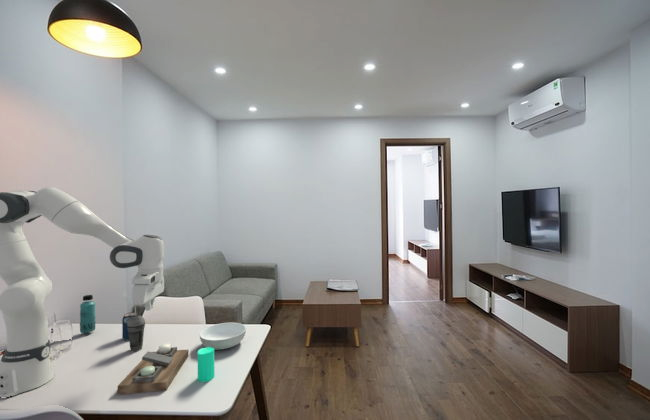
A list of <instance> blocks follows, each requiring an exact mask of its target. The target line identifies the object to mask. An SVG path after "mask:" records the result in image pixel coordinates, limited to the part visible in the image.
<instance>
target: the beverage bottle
mask: <svg viewBox="0 0 650 420" xmlns="http://www.w3.org/2000/svg"><path fill="white" fill-rule="evenodd" d="M82 297H83V298H82V301H84V302H82V303H81V304H80V305H79V308H80V310H79V332H80V333H81V334H86V333H87V334H88V333H91V332H93V331H94V332H95V330H96V317H97V316H96V302H95V301H93V299H94V297H93V294H86V295H83V296H82Z"/></svg>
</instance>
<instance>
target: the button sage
mask: <svg viewBox="0 0 650 420" xmlns="http://www.w3.org/2000/svg"><path fill="white" fill-rule="evenodd" d="M154 373H155V367H154V366H147V367H144V368H143V369H141V376H150V375H153V374H154Z"/></svg>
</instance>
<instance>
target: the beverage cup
mask: <svg viewBox="0 0 650 420" xmlns="http://www.w3.org/2000/svg"><path fill="white" fill-rule="evenodd" d="M134 312H135V316H133V317H131V318H130V319H129V321H128V324H127V329H128V333H129V340H128V341H129V347H130V348H129V349H130V352H133V353H134V352H136V353H137V352H139V351H141V350H142V349H143V343H144V333H145V327H146V319H145V318H144V317H143V316H142V315H139V314H138V315H136V312H137V305H134Z"/></svg>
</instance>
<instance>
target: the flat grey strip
mask: <svg viewBox="0 0 650 420" xmlns="http://www.w3.org/2000/svg"><path fill="white" fill-rule="evenodd" d="M153 352H154V351H146V352H145V354H144V355H143V356H142V357H141V361H142V360H145V361H149V362H153V363H157V364H161V365H165V366H168V365H169V364H170V363H171V361H172V359H173V357H169V356H165V355H161V354H157V353H153Z"/></svg>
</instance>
